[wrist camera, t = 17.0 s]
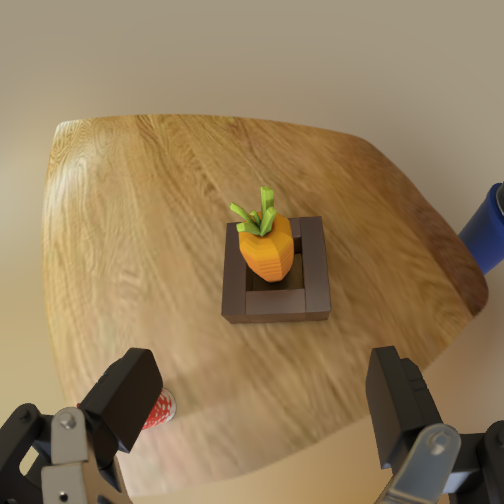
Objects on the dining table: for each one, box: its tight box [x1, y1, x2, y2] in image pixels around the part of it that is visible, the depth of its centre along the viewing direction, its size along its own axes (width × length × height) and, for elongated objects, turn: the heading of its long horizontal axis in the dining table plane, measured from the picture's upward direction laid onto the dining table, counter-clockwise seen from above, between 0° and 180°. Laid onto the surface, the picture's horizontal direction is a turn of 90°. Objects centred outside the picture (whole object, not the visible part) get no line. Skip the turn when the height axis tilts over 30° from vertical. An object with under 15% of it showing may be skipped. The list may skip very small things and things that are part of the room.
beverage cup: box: [77, 388, 176, 430], centre depth 22 cm, size 6×6×14 cm
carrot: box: [230, 186, 294, 283], centre depth 26 cm, size 5×5×15 cm
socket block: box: [221, 216, 331, 323], centre depth 31 cm, size 11×11×4 cm
